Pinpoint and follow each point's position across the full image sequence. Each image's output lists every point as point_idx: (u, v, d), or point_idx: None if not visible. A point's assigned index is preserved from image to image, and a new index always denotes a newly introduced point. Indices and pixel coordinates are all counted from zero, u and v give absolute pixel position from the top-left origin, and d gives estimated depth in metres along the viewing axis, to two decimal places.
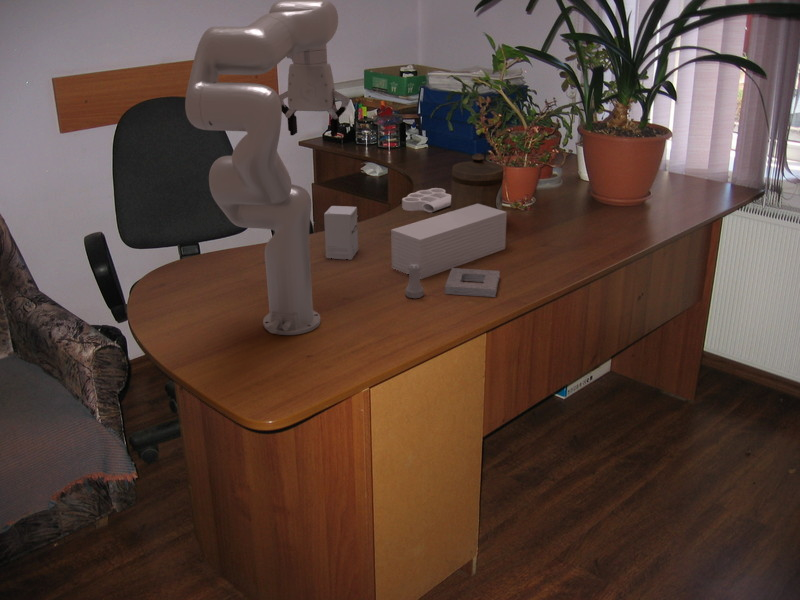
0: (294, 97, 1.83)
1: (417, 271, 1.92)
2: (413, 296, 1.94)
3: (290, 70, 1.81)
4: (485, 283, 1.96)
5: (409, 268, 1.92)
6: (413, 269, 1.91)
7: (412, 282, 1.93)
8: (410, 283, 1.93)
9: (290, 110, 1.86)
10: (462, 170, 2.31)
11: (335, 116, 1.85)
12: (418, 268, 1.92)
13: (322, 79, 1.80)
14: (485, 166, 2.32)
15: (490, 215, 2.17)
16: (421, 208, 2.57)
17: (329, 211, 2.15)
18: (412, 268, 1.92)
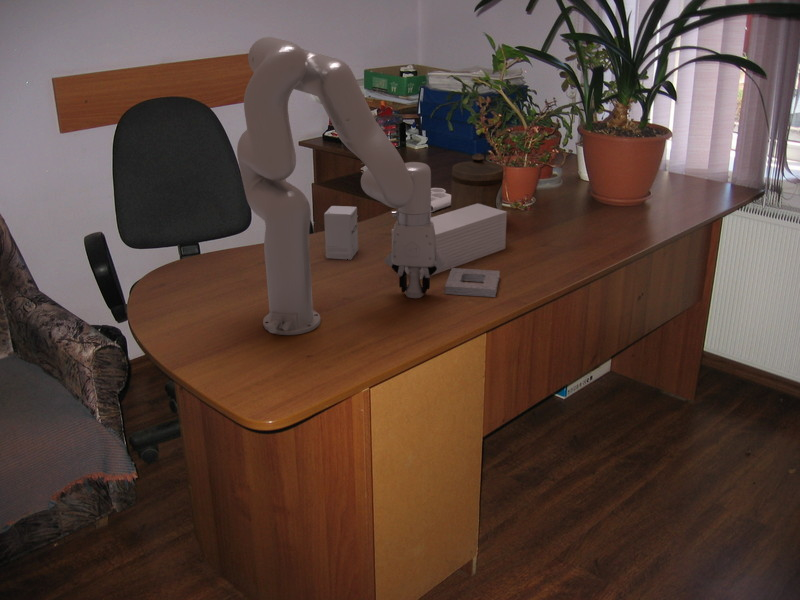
0: (398, 254, 1.89)
1: (417, 271, 1.92)
2: (413, 296, 1.94)
3: (395, 229, 1.87)
4: (485, 283, 1.96)
5: (409, 268, 1.92)
6: (413, 269, 1.91)
7: (412, 282, 1.93)
8: (410, 283, 1.93)
9: (400, 268, 1.92)
10: (462, 170, 2.31)
11: (427, 275, 1.92)
12: (418, 268, 1.92)
13: (427, 238, 1.86)
14: (485, 166, 2.32)
15: (490, 215, 2.17)
16: None
17: (329, 211, 2.15)
18: (412, 268, 1.92)
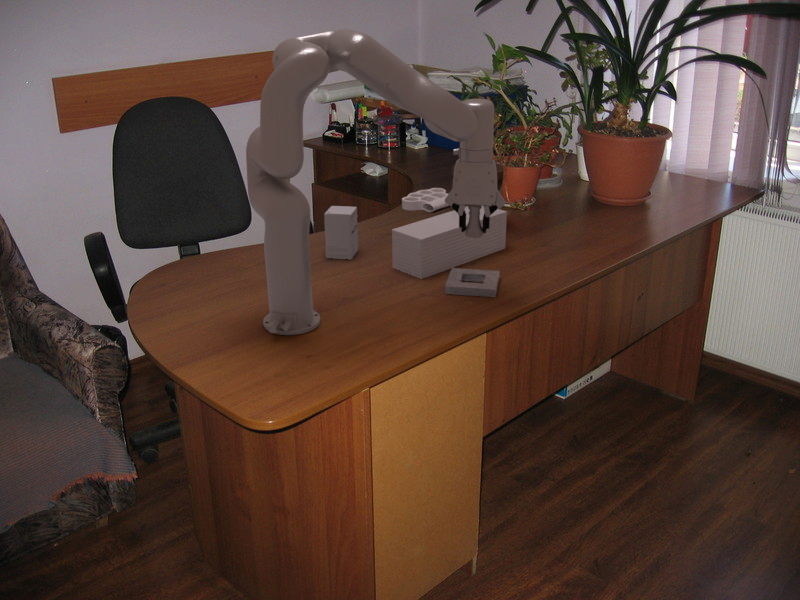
0: (459, 192, 1.89)
1: (478, 210, 1.92)
2: (473, 235, 1.93)
3: (457, 167, 1.87)
4: (485, 283, 1.96)
5: (469, 207, 1.92)
6: (474, 208, 1.91)
7: (473, 221, 1.93)
8: (470, 222, 1.93)
9: (460, 208, 1.92)
10: None
11: (488, 214, 1.91)
12: (479, 207, 1.91)
13: (489, 176, 1.86)
14: None
15: (490, 215, 2.18)
16: (421, 208, 2.57)
17: (329, 211, 2.15)
18: (473, 207, 1.91)
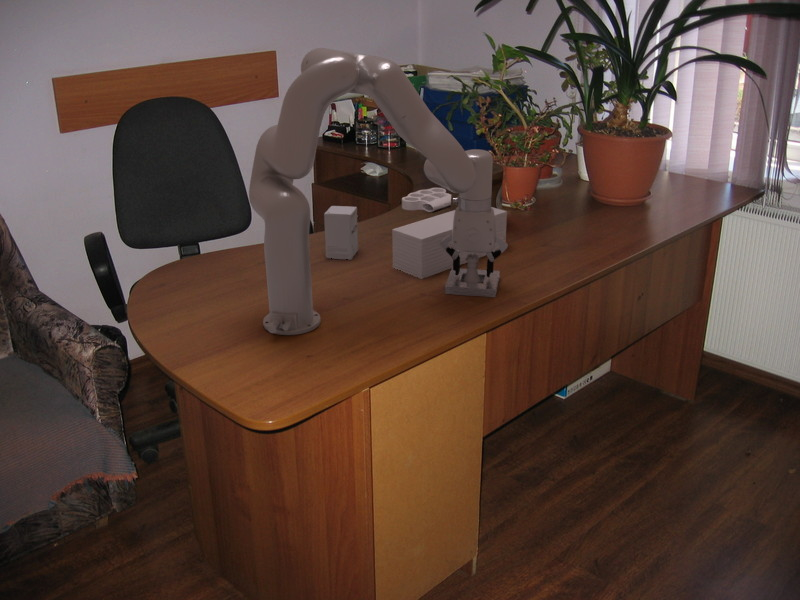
0: (459, 239, 1.93)
1: (475, 262, 1.97)
2: None
3: (456, 215, 1.92)
4: (485, 283, 1.96)
5: (467, 259, 1.97)
6: (471, 260, 1.96)
7: (470, 273, 1.98)
8: (468, 274, 1.98)
9: (456, 252, 1.96)
10: None
11: (492, 259, 1.95)
12: (476, 259, 1.96)
13: (488, 224, 1.91)
14: None
15: None
16: (421, 208, 2.57)
17: (329, 211, 2.15)
18: (470, 259, 1.96)
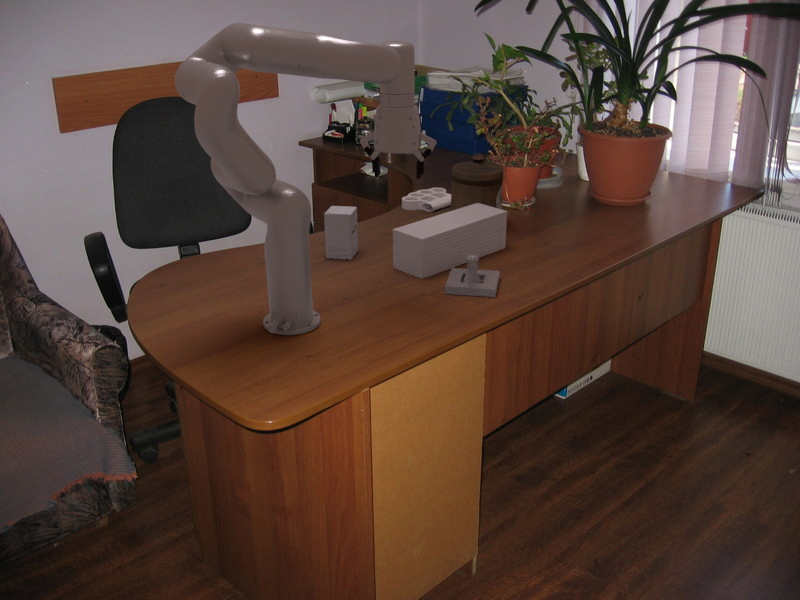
0: (381, 139, 1.81)
1: (475, 262, 1.97)
2: None
3: (378, 113, 1.79)
4: (485, 283, 1.96)
5: (467, 259, 1.97)
6: (472, 260, 1.96)
7: (470, 273, 1.98)
8: (468, 274, 1.98)
9: (375, 152, 1.84)
10: (462, 170, 2.31)
11: (421, 158, 1.83)
12: (476, 259, 1.96)
13: (411, 122, 1.78)
14: (485, 166, 2.32)
15: (491, 214, 2.18)
16: (420, 207, 2.57)
17: (329, 211, 2.15)
18: (471, 259, 1.96)
